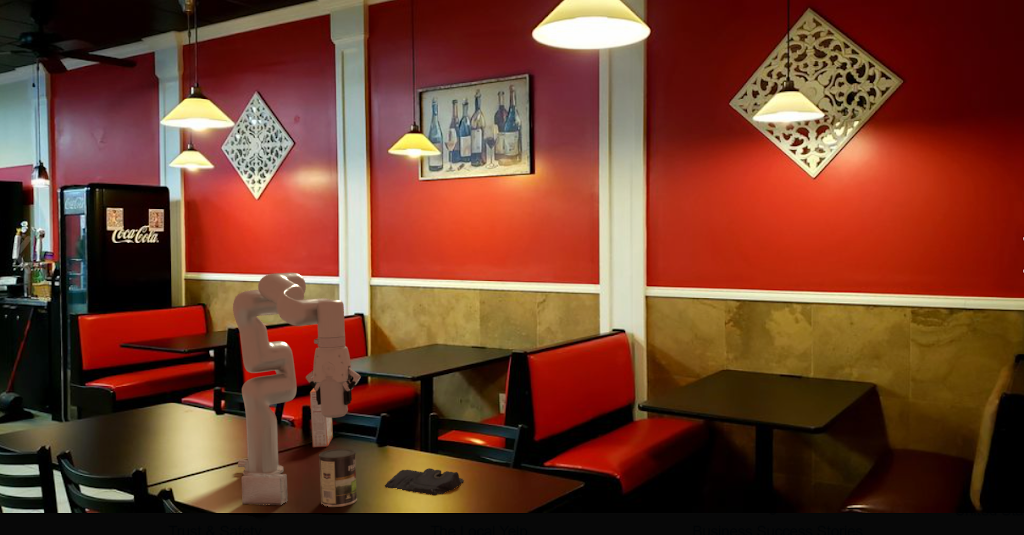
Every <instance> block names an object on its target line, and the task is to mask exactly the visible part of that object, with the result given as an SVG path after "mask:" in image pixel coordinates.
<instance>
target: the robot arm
mask: <svg viewBox="0 0 1024 535" xmlns="http://www.w3.org/2000/svg"><path fill="white" fill-rule="evenodd" d="M306 286H307V285H306V280H305V279H304V277H303V276H302V275H300V274H299V273H297V272H281V273H279V272H278V273H269V274H266V275H265V276H262V278H260V280H259V282H258V285H257V289H252V290H251V289H250V290H247V291H246V290H245V291H241V292H240V293H238V294H237V295H236V296H235V298H234V299H233V303H232V311H233V312H232V313H233V317H234V320H235V322H236V325H237V328H238V331H239V336H240V345H241V354H242V355H241V356H242V360H243V361H242V362H243V367H244V369H245V370H246V372H248V373H251V374H258V373H266V372H272V371H275V373H276V374H271V375H269V374H268V375H262V376H256V377H252V378H250V379H248V380H246V381H245V382H244V383H243V385H242V387H241V395H242V399H243V404H244V409H245V410H244V411H245V419H246V420H245V421H246V422H245V424H246V442H247V443H246V445H247V459H239V460H238V461H237V462H238V463H237V467H238V468H244V470H243V474H242V475H243V476H247V474H248V473H266V474H283V473H284V471H285V470H284V468H285V467H284V466H282V465H280V464H279V443H278V442H279V441H278V437H279V436H278V420H277V416H276V414H275V412H274V411H273V410H272V409H271V407H270V406H271V405H276V404H281V403H287V402H290V401H292V400H293V399H294V398H295V397H296V395H297V389H298V388H297V378H296V369H295V363H294V362H295V361H294V355H293V350H292V348H291V347H290V345H289V344H288V343H287V342H285V341H282V340H278V341H277V340H276V341H269V336H268V329H267V327H266V325H265V324H264V322H263V321H262V320H261V319H260V318H259V317H262V316H273V315H278V316H279V318H280V319H281V320H282V321H284V322H286V323H287V324H289V325H291V326H296V327H304V326H310V325H311V326H312V325H317V338H315V339H313V343H314V344H315V345H317V347H316V348H315V351H314V358H313V370H312V371H311V372H309V373H308V374H307V375H306V376H305V379H306V380H307V382H308V383H309V385H310V386H311V387H312V389H313V388H314V390H315V391H316V401H317V403H318V405H321V394H320V383H321V381H322V380H324V379H326V377H325V376H333V377H332V379H334V380H336V381H337V383H343V386H344V388H345V391H344V405H347V406H348V405H349V404H351V403H352V400H353V398H352V396H353V395H352V394H353V393H352V392H353V391H352V390H353V389H354V387H356V385H357V384H358V383H359V381H360V379H361V377H362V376H361V375H360V374H359V373H357V372H356V371H355V370H354V369H352V364H351V358H350V357H351V356H350V352H349V349H348V346H346V332H345V328H346V327H345V306H344V302H343V301H342V300H339V299H330V298H326V297H325V298H322V297H321V298H308V299H307V298H306V299H305V293H306V288H307V287H306ZM352 378H353V379H352ZM351 379H352V381H351Z"/></svg>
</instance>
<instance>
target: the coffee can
mask: <svg viewBox="0 0 1024 535" xmlns="http://www.w3.org/2000/svg"><path fill="white" fill-rule="evenodd" d="M356 453H357V452H356V451H355V450H354V449H350V448H335V449H328V450H325V451H322V452H320V453H319V454H318V458H319V477H320V478H319V480H320V504H321V505H322V504H323V505H324V507H327V506H328V508H339V507H340V508H341V507H346V506H347V507H348V506H350V505H353V504H355V503H356V502H357V501H358V497H357V496H358V495H357V493H358V492H357V475H356V474H357V470H356V468H357V466H356ZM323 505H322V506H323Z"/></svg>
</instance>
